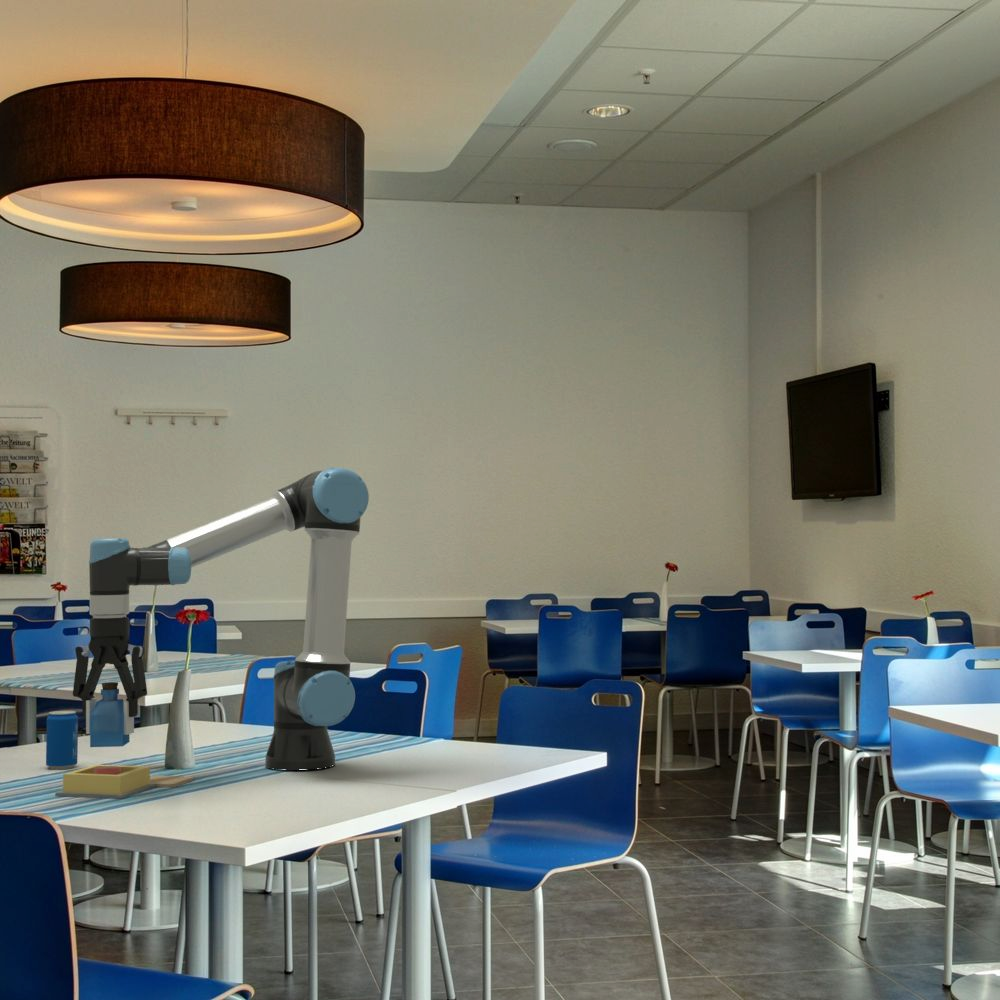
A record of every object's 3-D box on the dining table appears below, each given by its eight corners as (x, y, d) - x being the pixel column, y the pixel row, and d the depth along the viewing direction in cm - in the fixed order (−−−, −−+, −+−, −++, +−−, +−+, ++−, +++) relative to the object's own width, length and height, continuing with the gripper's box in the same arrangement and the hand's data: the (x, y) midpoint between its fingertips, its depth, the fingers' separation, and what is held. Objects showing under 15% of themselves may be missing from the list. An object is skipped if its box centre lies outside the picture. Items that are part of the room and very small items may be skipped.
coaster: (193, 779, 268) (193, 776, 268) (174, 787, 259) (174, 784, 259) (153, 778, 270) (153, 775, 270) (132, 785, 261) (132, 782, 261)
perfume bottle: (122, 746, 253) (122, 684, 253) (90, 747, 252) (90, 685, 253) (129, 741, 259) (129, 681, 259) (97, 742, 258) (97, 681, 259)
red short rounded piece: (125, 781, 257) (125, 766, 257) (112, 786, 252) (112, 770, 252) (102, 780, 258) (102, 765, 258) (88, 785, 253) (89, 769, 253)
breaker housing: (156, 786, 260) (156, 765, 260) (122, 798, 247) (122, 777, 247) (92, 783, 263) (93, 763, 263) (55, 795, 250) (55, 774, 250)
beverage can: (67, 770, 280) (68, 714, 280) (40, 769, 281) (40, 713, 281) (82, 765, 286) (83, 710, 286) (56, 764, 287) (56, 710, 288)
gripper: (165, 615, 258) (166, 731, 257) (73, 615, 262) (73, 730, 261) (147, 617, 251) (148, 736, 250) (52, 617, 255) (53, 735, 254)
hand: (110, 733), depth 256 cm, fingers closed on perfume bottle, 7 cm apart
